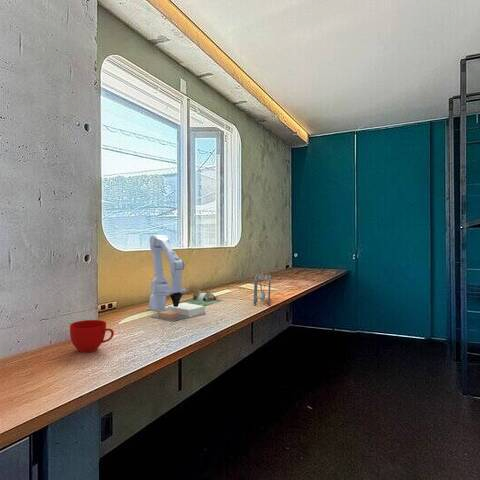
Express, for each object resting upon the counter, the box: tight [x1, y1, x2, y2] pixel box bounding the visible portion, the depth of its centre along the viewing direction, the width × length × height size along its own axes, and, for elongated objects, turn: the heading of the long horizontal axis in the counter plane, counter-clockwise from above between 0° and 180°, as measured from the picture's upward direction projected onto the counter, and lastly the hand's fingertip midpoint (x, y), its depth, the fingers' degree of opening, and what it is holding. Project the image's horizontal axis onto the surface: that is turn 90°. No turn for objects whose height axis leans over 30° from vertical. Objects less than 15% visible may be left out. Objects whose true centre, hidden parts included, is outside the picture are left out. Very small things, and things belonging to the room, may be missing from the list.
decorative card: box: [179, 288, 223, 307], centre depth 246 cm, size 33×8×20 cm
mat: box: [150, 314, 189, 323], centre depth 198 cm, size 16×12×1 cm
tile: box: [157, 310, 180, 319], centre depth 198 cm, size 9×7×2 cm
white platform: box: [166, 303, 206, 318], centre depth 210 cm, size 16×14×4 cm
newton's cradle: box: [253, 273, 272, 306], centre depth 252 cm, size 30×10×18 cm, turn 175°
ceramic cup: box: [69, 319, 115, 353], centre depth 141 cm, size 13×17×10 cm
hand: (175, 306), depth 202 cm, fingers closed
